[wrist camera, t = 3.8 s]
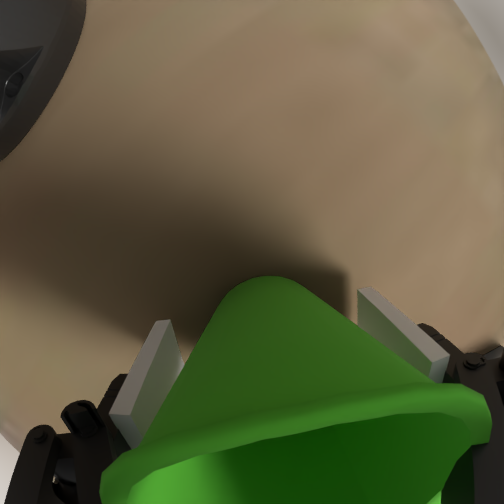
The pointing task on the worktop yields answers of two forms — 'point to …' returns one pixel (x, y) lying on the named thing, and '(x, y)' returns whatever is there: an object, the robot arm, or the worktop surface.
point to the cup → (297, 414)
